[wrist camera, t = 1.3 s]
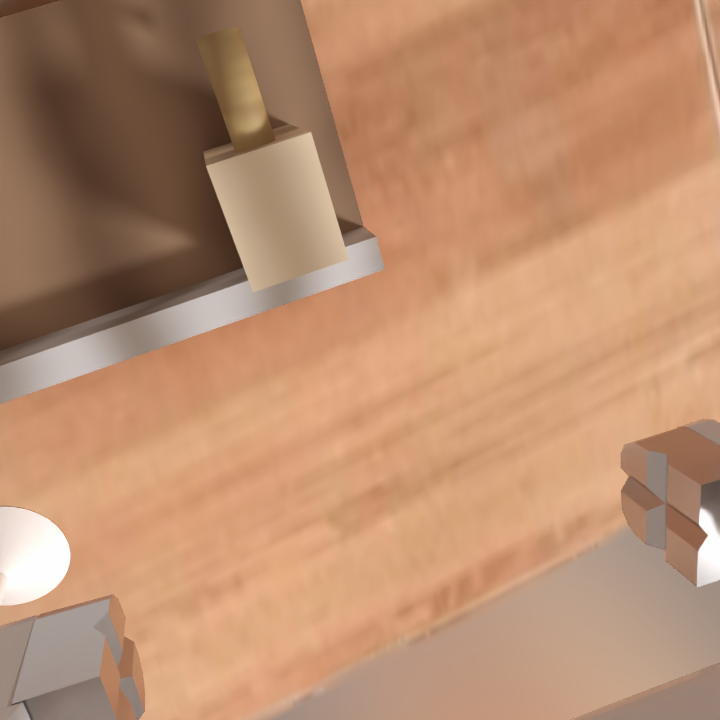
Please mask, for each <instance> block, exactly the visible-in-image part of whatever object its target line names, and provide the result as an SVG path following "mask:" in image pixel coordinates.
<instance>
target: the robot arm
mask: <svg viewBox="0 0 720 720" xmlns="http://www.w3.org/2000/svg"><path fill="white" fill-rule="evenodd" d="M621 468H622V470H623V471H624V472H625V473H626V474H627V475H628V476H629V477H628V479H627V481H626V483H625V485H624V486H623V488H622V490H621V502H622V510H623V513H624V515H625V518H626V521H627V523H628V525H629V527H630V528H631V529H632V531H633V532H634V534H635V535H636V536H637V537H638V538H639V539H641V540H642V541H643V542H644V543H645V544H646V545H649V546H652V547H656V548H659V549H662V550H665V558H666V562H667V563H669V564H670V565H671V566H672V567H673V568H674V569H676V570H677V571H678V572H679V573H680V574H682V575H683V576H684V577H685V578H686V579H688V580H689V581H690V582H691V583H692V584H694V585H695V586H696V587H699V586H702V585H705V584H708V583H711V582H715V581H718V580H720V423H719V422H717V421H715V420H709V419H701V420H698V421H695V422H692V423H689V424H686V425H683V426H680V427H678V428H677V429H673V430H670V431H667V432H664V433H660V434H657V435H654V436H651V437H648V438H644V439H641V440H638V441H635V442H631V443H628V444H625V445H624V447H623V450H622V453H621ZM124 629H125V615H124V613H123V610H122V607H121V605H120V602H119V600H118V598H117V597H116V596H115V595H109V596H105V597H102V598H98V599H94V600H91V601H87V602H83V603H80V604H76V605H72V606H69V607H65V608H61V609H58V610H54V611H50V612H47V613H43V614H40V615H39V616H32V617H29V618H25V619H22V620H19V621H15V622H12V623H9V624H5V625H2V626H1V627H0V720H139V719H140V717H141V716H142V714H143V713H144V712H145V689H144V680H143V671H142V667H141V663H140V659H139V655H138V652H137V649H136V646H135V643H134V642H133V641H131V640H130V639H128V638H126V637H124ZM571 720H720V663H717V664H715V665H712V666H709V667H707V668H704V669H701V670H699V671H696V672H694V673H691V674H689V675H686V676H683V677H681V678H678V679H675V680H673V681H670V682H667V683H665V684H662V685H659V686H657V687H654V688H651V689H649V690H647V691H644V692H641V693H638V694H636V695H633V696H631V697H628V698H625V699H623V700H620V701H618V702H615V703H612V704H610V705H607V706H605V707H602V708H599V709H597V710H594V711H592V712H589V713H587V714H584V715H581V716H579V717H576V718H573V719H571Z"/></svg>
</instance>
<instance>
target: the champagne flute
mask: <svg viewBox="0 0 720 720" xmlns="http://www.w3.org/2000/svg"><path fill="white" fill-rule="evenodd" d="M69 563H70V549H69V545H68V542H67V540H66V538H65V536H64V534H63V533H62V532H61V531H60V529H59V528H58V527H57V526H56V525H55V524H54V523H52V522H51V521H50V520H49V519H47V518H45V517H43V516H42V515H40V514H38V513H35V512H32V511H29V510H26V509H22V508H16V507H0V605H16V604H22V603H26V602H29V601H32V600H36V599H38V598H40V597H42V596H44V595H46V594H47V593H48V592H50V591H51V590H53V589H54V588H55V587H56V586H57V585H58V584H59V583H60V582H61V581H62V579H63V578H64V576H65V574H66V572H67V570H68V567H69Z"/></svg>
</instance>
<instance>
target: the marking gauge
mask: <svg viewBox="0 0 720 720" xmlns="http://www.w3.org/2000/svg"><path fill="white" fill-rule="evenodd" d="M196 41H197V44H198V47H199V50H200V52H201V55H202V58H203V61H204V64H205V67H206V70H207V72H208V75H209V78H210V81H211V84H212V87H213V90H214V92H215V95H216V98H217V101H218V104H219V107H220V110H221V112H222V115H223V118H224V121H225V124H226V127H227V130H228V132H229V135H230V138H231V141H232V142H231V143H228V144H225V145H222V146H219V147H216V148H213V149H210V150H207V151H203V153H204V158H205V164H206V168H207V170H208V173H209V176H210V178H211V181H212V184H213V186H214V189H215V192H216V194H217V197H218V200H219V202H220V205H221V208H222V210H223V213H224V216H225V219H226V221H227V224H228V227H229V229H230V232H231V235H232V237H233V240H234V243H235V245H236V248H237V251H238V253H239V256H240V259H241V262H242V264H243V267H244V270H245V272H246V275H247V278H248V280H249V283H250V286H251V288H252V291H253V292H256V291H259V290H262V289H265V288H268V287H270V286H273V285H276V284H279V283H282V282H285V281H288V280H291V279H294V278H296V277H299V276H302V275H305V274H308V273H311V272H314V271H317V270H320V269H322V268H325V267H328V266H331V265H334V264H337V263H340V262H343V261H346V260H348V259H349V258H348V255H347V252H346V248H345V245H344V241H343V238H342V235H341V231H340V228H339V225H338V221H337V218H336V214H335V211H334V208H333V204H332V201H331V198H330V194H329V191H328V187H327V184H326V181H325V177H324V174H323V171H322V167H321V164H320V160H319V157H318V154H317V150H316V147H315V144H314V140H313V137H312V133H311V132H310V131H307V130H304V129H301V128H299V127H296V126H293V125H290V124H288V125H284V126H281V127H278V128H275V129H272V128H271V124H270V121H269V118H268V115H267V112H266V109H265V106H264V103H263V100H262V96H261V93H260V90H259V87H258V84H257V81H256V78H255V75H254V72H253V68H252V65H251V62H250V59H249V56H248V53H247V50H246V47H245V43H244V40H243V37H242V34H241V31H240V28H239V26H236V27H231V28H228V29H224V30H221V31H217V32H214V33H211V34H208V35H205V36H202V37H200V38H197V39H196Z"/></svg>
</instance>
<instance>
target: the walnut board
mask: <svg viewBox="0 0 720 720" xmlns="http://www.w3.org/2000/svg"><path fill="white" fill-rule="evenodd" d="M236 26H239V28H240V31H241V34H242V37H243V40H244V43H245V47H246V50H247V53H248V56H249V59H250V62H251V65H252V68H253V72H254V75H255V78H256V81H257V84H258V87H259V90H260V93H261V96H262V100H263V103H264V106H265V109H266V112H267V115H268V118H269V121H270V124H271V128H272V129H275V128H278V127H281V126H284V125H288V124H290V125H293V126H296V127H299V128H301V129H304V130H307V131H310V132H311V133H312V137H313V140H314V144H315V147H316V150H317V154H318V157H319V160H320V164H321V167H322V171H323V174H324V177H325V181H326V184H327V187H328V191H329V194H330V198H331V201H332V204H333V208H334V211H335V214H336V218H337V221H338V225H339V228H340V231H341V235H342V238H343V241H344V245H345V248H346V252H347V255H348V258H349V259H348V260H346V261H343V262H340V263H337V264H334V265H331V266H328V267H325V268H322V269H320V270H317V271H314V272H311V273H308V274H305V275H302V276H299V277H296V278H294V279H291V280H288V281H285V282H282V283H279V284H276V285H273V286H270V287H268V288H265V289H262V290H259V291H256V292H253V291H252V288H251V286H250V283H249V280H248V278H247V275H246V272H245V270H244V267H243V264H242V262H241V259H240V256H239V253H238V251H237V248H236V245H235V243H234V240H233V237H232V235H231V232H230V229H229V227H228V224H227V221H226V219H225V216H224V213H223V210H222V208H221V205H220V202H219V200H218V197H217V194H216V192H215V189H214V186H213V184H212V181H211V178H210V176H209V173H208V170H207V168H206V164H205V158H204V153H203V151H207V150H210V149H213V148H216V147H219V146H222V145H225V144H228V143H231V142H232V141H231V138H230V135H229V132H228V130H227V127H226V124H225V121H224V118H223V115H222V112H221V110H220V107H219V104H218V101H217V98H216V95H215V92H214V90H213V87H212V84H211V81H210V78H209V75H208V72H207V70H206V67H205V64H204V61H203V58H202V55H201V52H200V50H199V47H198V44H197V41H196V39H197V38H200V37H202V36H205V35H208V34H211V33H214V32H217V31H221V30H224V29H228V28H231V27H236ZM384 269H385V268H384V264H383V260H382V257H381V253H380V249H379V246H378V242H377V238H376V236H375V235H373V234H372V233H371V232H370V231H368V230H367V229H366V228H365V227H364V226H363V223H362V219H361V216H360V212H359V209H358V205H357V201H356V198H355V194H354V191H353V187H352V184H351V180H350V176H349V173H348V169H347V166H346V162H345V159H344V155H343V151H342V148H341V144H340V141H339V137H338V133H337V130H336V126H335V123H334V119H333V116H332V112H331V108H330V105H329V101H328V98H327V94H326V91H325V87H324V83H323V80H322V76H321V73H320V69H319V65H318V62H317V58H316V55H315V51H314V48H313V44H312V40H311V37H310V33H309V30H308V26H307V23H306V19H305V15H304V12H303V8H302V5H301V1H300V0H59V1H56V2H52V3H49V4H45V5H42V6H38V7H35V8H31V9H28V10H25V11H21V12H18V13H14V14H11V15H7V16H4V17H0V404H1V403H4V402H7V401H10V400H13V399H15V398H18V397H21V396H24V395H27V394H30V393H33V392H35V391H38V390H41V389H44V388H47V387H50V386H53V385H55V384H58V383H61V382H64V381H67V380H70V379H73V378H75V377H78V376H81V375H84V374H87V373H90V372H93V371H95V370H98V369H101V368H104V367H107V366H110V365H113V364H115V363H118V362H121V361H124V360H127V359H130V358H133V357H135V356H138V355H141V354H144V353H147V352H150V351H153V350H155V349H158V348H161V347H164V346H167V345H170V344H173V343H175V342H178V341H181V340H184V339H187V338H190V337H193V336H195V335H198V334H201V333H204V332H207V331H210V330H213V329H215V328H218V327H221V326H224V325H227V324H230V323H233V322H235V321H238V320H241V319H244V318H247V317H250V316H253V315H256V314H258V313H261V312H264V311H267V310H270V309H273V308H276V307H278V306H281V305H284V304H287V303H290V302H293V301H296V300H298V299H301V298H304V297H307V296H310V295H313V294H316V293H318V292H321V291H324V290H327V289H330V288H333V287H336V286H338V285H341V284H344V283H347V282H350V281H353V280H356V279H358V278H361V277H364V276H367V275H370V274H373V273H376V272H378V271H381V270H384Z"/></svg>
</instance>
